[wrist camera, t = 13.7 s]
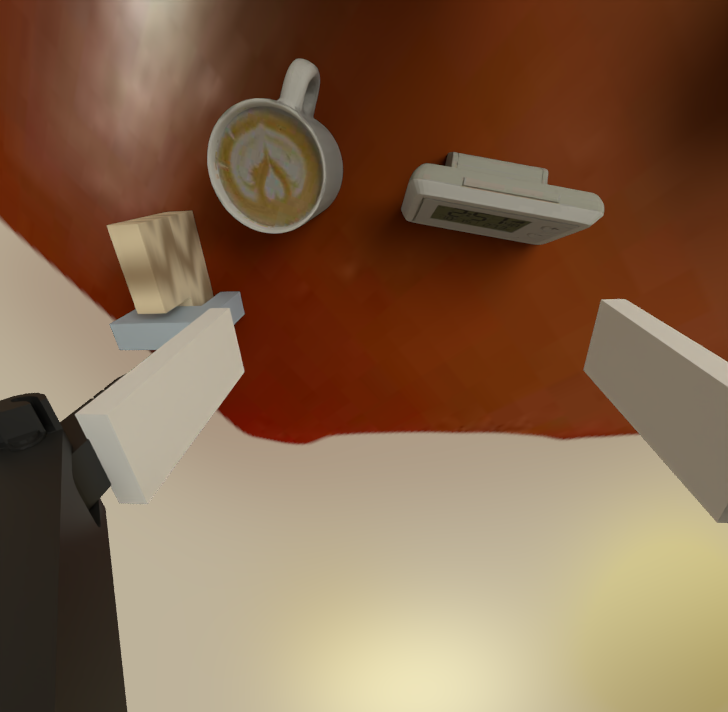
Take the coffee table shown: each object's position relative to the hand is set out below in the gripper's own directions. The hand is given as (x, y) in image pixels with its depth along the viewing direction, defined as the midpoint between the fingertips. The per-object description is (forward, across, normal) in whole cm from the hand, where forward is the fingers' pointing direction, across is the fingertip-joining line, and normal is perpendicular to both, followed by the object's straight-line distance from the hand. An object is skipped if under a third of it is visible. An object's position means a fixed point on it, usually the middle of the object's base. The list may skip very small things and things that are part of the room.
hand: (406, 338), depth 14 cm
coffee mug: (+31, -10, +7) cm, 33 cm away
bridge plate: (+31, -25, -9) cm, 41 cm away
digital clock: (+31, +8, +1) cm, 32 cm away
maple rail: (+31, -25, -9) cm, 41 cm away
